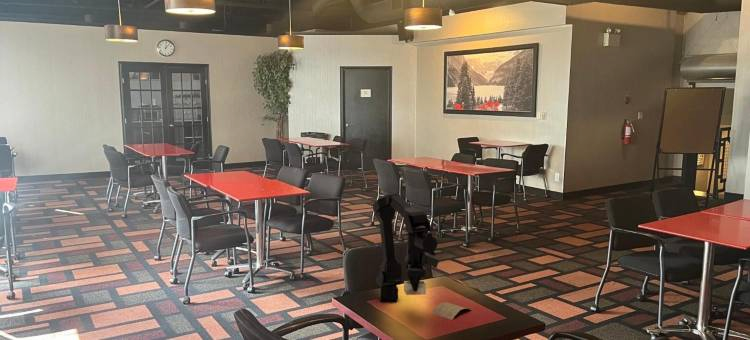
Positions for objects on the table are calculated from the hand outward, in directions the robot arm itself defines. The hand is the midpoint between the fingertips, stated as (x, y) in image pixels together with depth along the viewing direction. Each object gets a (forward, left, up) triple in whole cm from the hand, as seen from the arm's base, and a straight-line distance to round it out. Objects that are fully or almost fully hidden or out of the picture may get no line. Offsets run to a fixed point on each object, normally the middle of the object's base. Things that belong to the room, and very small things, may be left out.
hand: (414, 288), depth 208 cm
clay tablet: (+14, +6, -12) cm, 19 cm away
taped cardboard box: (0, 0, -1) cm, 1 cm away
